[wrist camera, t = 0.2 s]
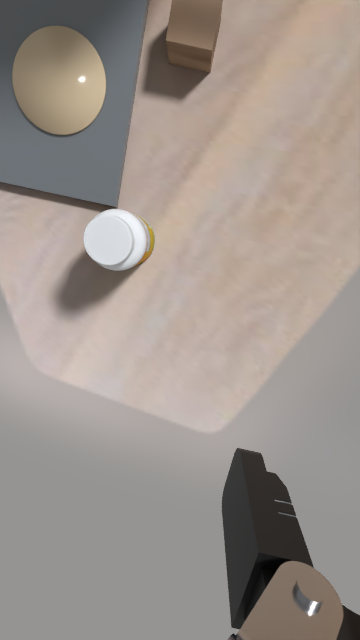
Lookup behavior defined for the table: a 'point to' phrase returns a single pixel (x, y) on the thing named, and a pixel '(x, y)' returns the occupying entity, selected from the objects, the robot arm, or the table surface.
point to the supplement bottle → (118, 239)
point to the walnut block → (193, 33)
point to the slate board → (68, 93)
